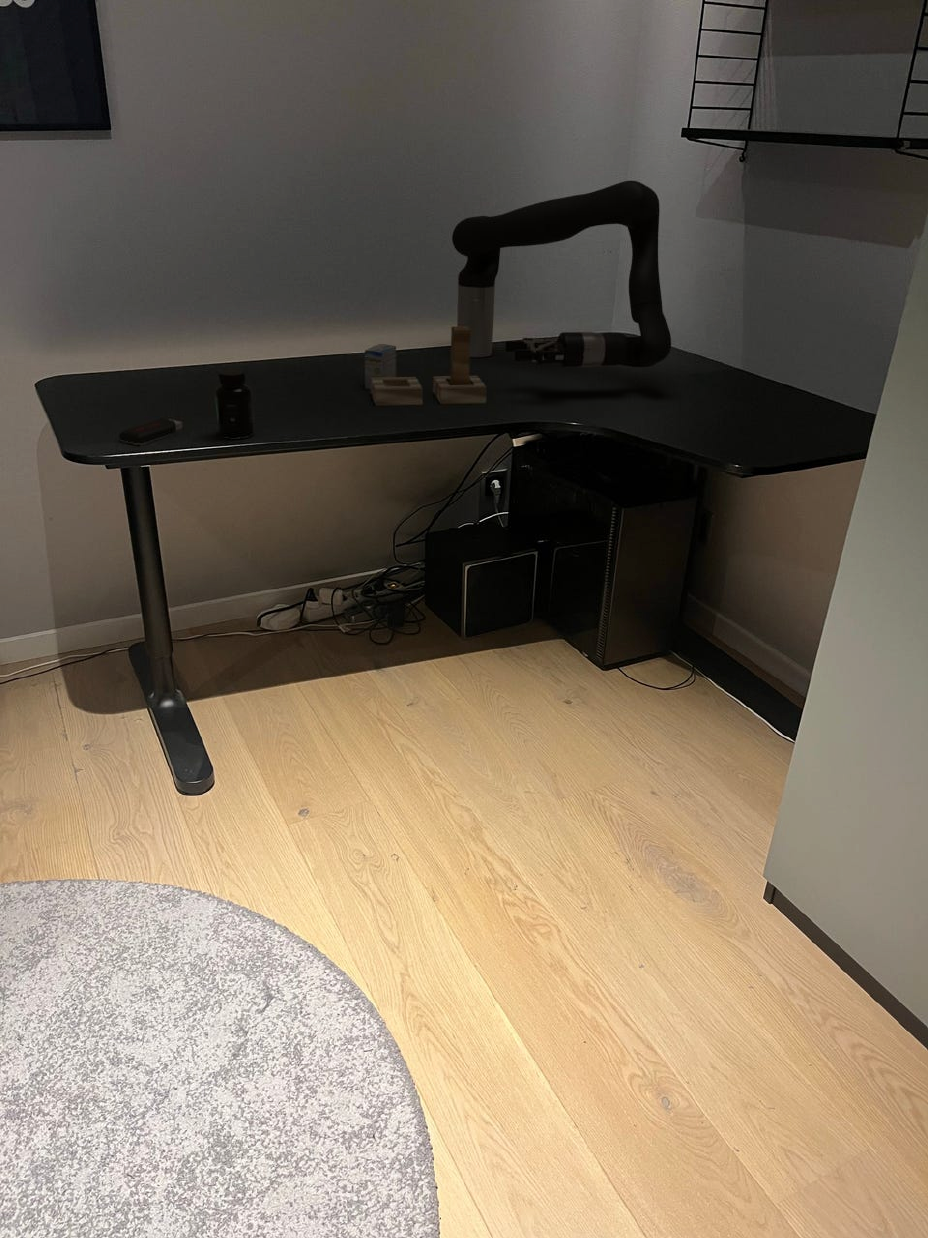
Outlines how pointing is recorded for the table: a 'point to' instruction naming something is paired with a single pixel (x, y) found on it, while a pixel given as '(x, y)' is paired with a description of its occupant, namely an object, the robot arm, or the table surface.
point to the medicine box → (380, 363)
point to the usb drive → (150, 430)
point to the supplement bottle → (234, 405)
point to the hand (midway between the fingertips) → (509, 350)
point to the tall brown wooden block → (460, 355)
